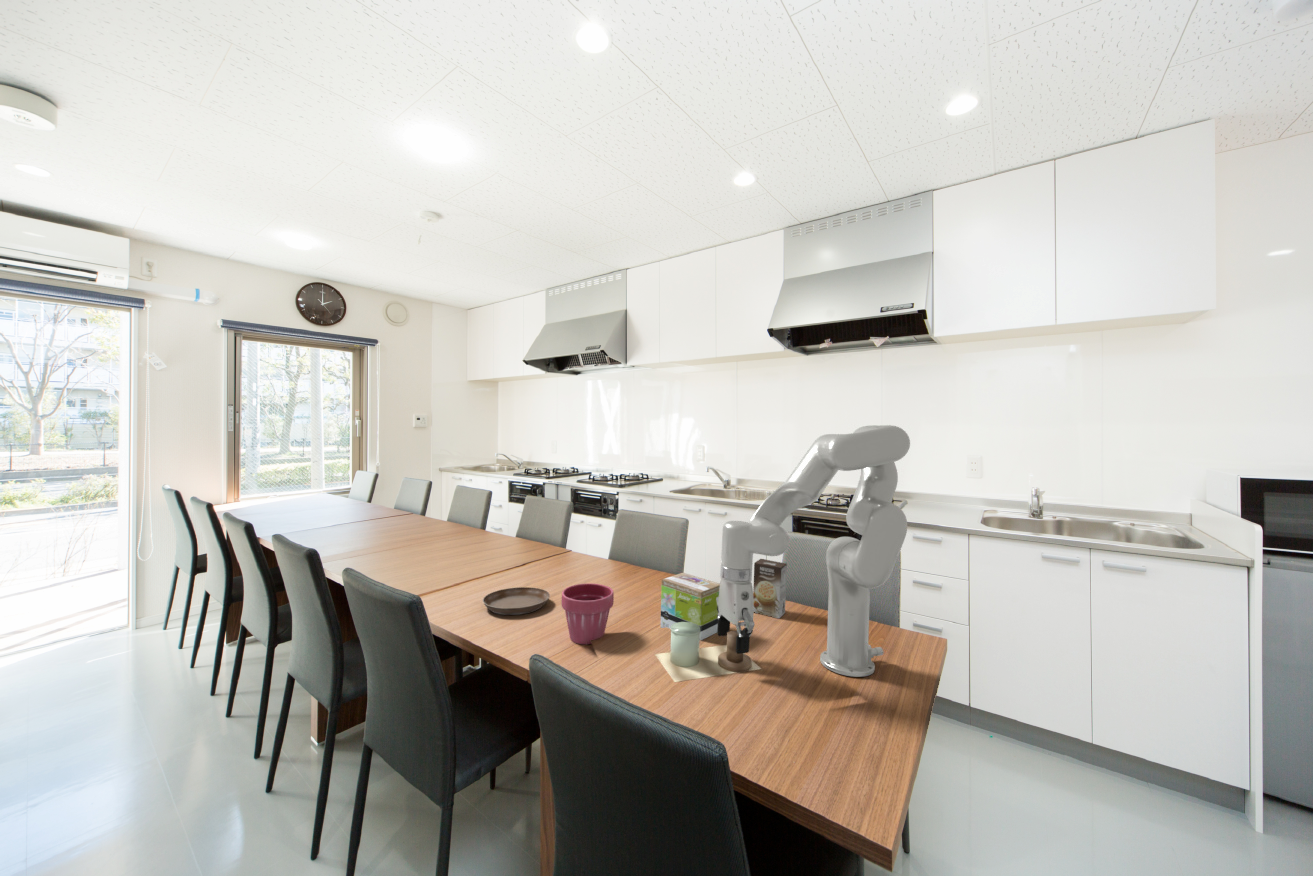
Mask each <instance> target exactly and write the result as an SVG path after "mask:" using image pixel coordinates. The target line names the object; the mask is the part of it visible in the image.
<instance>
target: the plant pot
mask: <svg viewBox="0 0 1313 876" xmlns="http://www.w3.org/2000/svg"><path fill="white" fill-rule="evenodd" d="M614 593H615V592H614V589H613V588H611V586H610V587H609V586H607V585H605V584H600V583H590V582H589V583H586V582H585V583H578V584H573V585H570V586H567V587H566V588H564V589H563V591H562V592H561V608H562V609H563V610H564V612H565V618H566V623H567V629H568V634H569V639H570V641H572V642H573V643H574V644H579V645H592V641H594V640H598V639H600V638H602V637H603V636H604V635H605V632H606V628H607V623H608V618H609V614H610V610H611V609H612V607H613V606H614V602H615V601H614V598H615V596H614V595H615V594H614Z"/></svg>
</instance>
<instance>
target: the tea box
mask: <svg viewBox="0 0 1313 876" xmlns="http://www.w3.org/2000/svg"><path fill="white" fill-rule="evenodd" d="M660 588H661V591H660V592H661V593H660V598H661V599H660V628H661V629H663V628H664V629H665V628H667V629H670V630H671V625H672V624H674V623H678V622H690V623H694V624H697V625H698V626H699V627H700V641H703V640H705V639H706V638H708V637H711V636H713V635H715V634H717V627H718V620H720V619H718V618H717V614H718V611H717V601H716V598H717V597H719V588H720V582H719V583H718V582H716V581H711V580H709V579H705V578H702V577H698V576H695V575H692V574H689V573H685V572H681V573H677V574H675V575H674V574H673V575H672V576H668V577H665V578H661V585H660Z"/></svg>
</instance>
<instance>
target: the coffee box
mask: <svg viewBox="0 0 1313 876" xmlns="http://www.w3.org/2000/svg"><path fill="white" fill-rule="evenodd" d="M787 566H788V564H787V563H785V562H781V561H776V560H769V559H764V558H760V559H758V560H756V561H755V562H754V565H753V586H752V588H753V603H754V612H755V613H754V614H758V613H760V614H759V615H762V614H763V615H762V616H766V615H768V616H767V617H770V616H772V617H771V618H775V619H780V618H781V617H783V615H785V613H786V598H787V597H786V595H787V593H786V591H787V590H786V589H787V572H788V571H787V569H788V568H787Z"/></svg>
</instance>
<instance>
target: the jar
mask: <svg viewBox="0 0 1313 876" xmlns="http://www.w3.org/2000/svg"><path fill="white" fill-rule="evenodd" d="M700 642H701V640H700V627H699V626H698V625H697V624H694V623H690V622H678V623H674V624H672V625H671V629H670V652H671V653H670V661H671V662H672V663H673V664H674V665H676V666H680V667H692V666H695V665H697V664H698V663H699V648H700Z"/></svg>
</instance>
